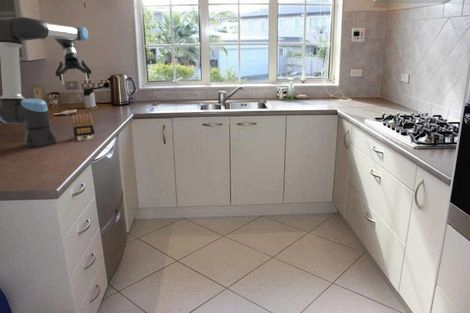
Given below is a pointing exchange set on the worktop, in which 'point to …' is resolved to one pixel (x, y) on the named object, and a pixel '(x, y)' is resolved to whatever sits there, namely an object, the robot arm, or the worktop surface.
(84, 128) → the ammunition clip
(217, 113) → the worktop surface
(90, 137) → the plate
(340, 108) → the worktop surface
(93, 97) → the glass holder
